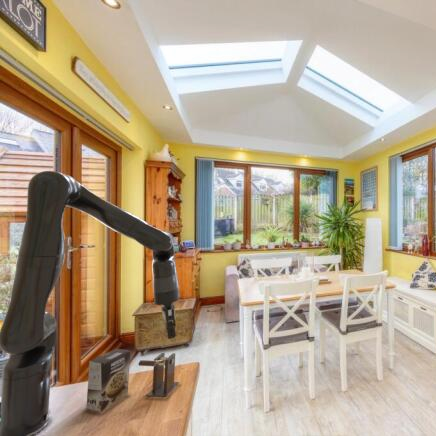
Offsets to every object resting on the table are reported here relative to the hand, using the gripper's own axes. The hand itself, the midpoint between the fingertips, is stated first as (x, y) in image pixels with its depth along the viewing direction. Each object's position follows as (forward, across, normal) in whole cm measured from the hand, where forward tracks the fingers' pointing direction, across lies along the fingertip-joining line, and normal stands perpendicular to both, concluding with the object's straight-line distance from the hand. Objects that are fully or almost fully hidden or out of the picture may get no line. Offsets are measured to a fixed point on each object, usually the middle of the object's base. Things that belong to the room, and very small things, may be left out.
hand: (170, 333), depth 91 cm
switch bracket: (+22, -4, -4) cm, 23 cm away
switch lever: (+10, 0, -5) cm, 11 cm away
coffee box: (+20, -7, -19) cm, 29 cm away
